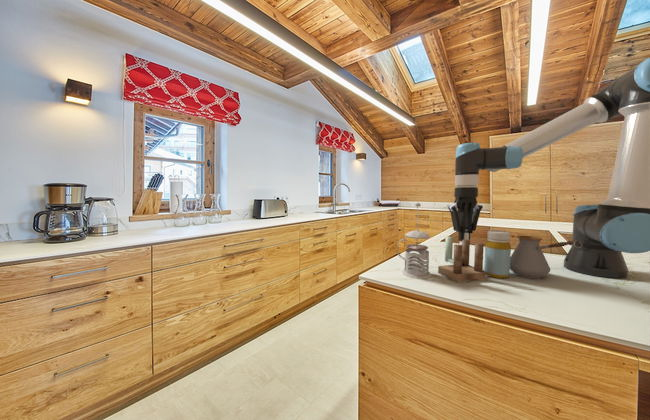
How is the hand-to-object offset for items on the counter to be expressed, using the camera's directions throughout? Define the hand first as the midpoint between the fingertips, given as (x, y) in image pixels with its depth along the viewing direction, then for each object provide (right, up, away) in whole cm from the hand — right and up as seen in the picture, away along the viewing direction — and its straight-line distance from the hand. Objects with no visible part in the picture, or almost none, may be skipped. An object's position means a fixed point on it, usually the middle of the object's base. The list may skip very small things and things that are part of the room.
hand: (463, 249), depth 92 cm
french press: (-21, -8, -6) cm, 23 cm away
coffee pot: (+17, -8, -13) cm, 23 cm away
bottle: (+6, -7, -9) cm, 13 cm away
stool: (-6, -7, -9) cm, 13 cm away
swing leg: (-6, -4, -3) cm, 8 cm away
